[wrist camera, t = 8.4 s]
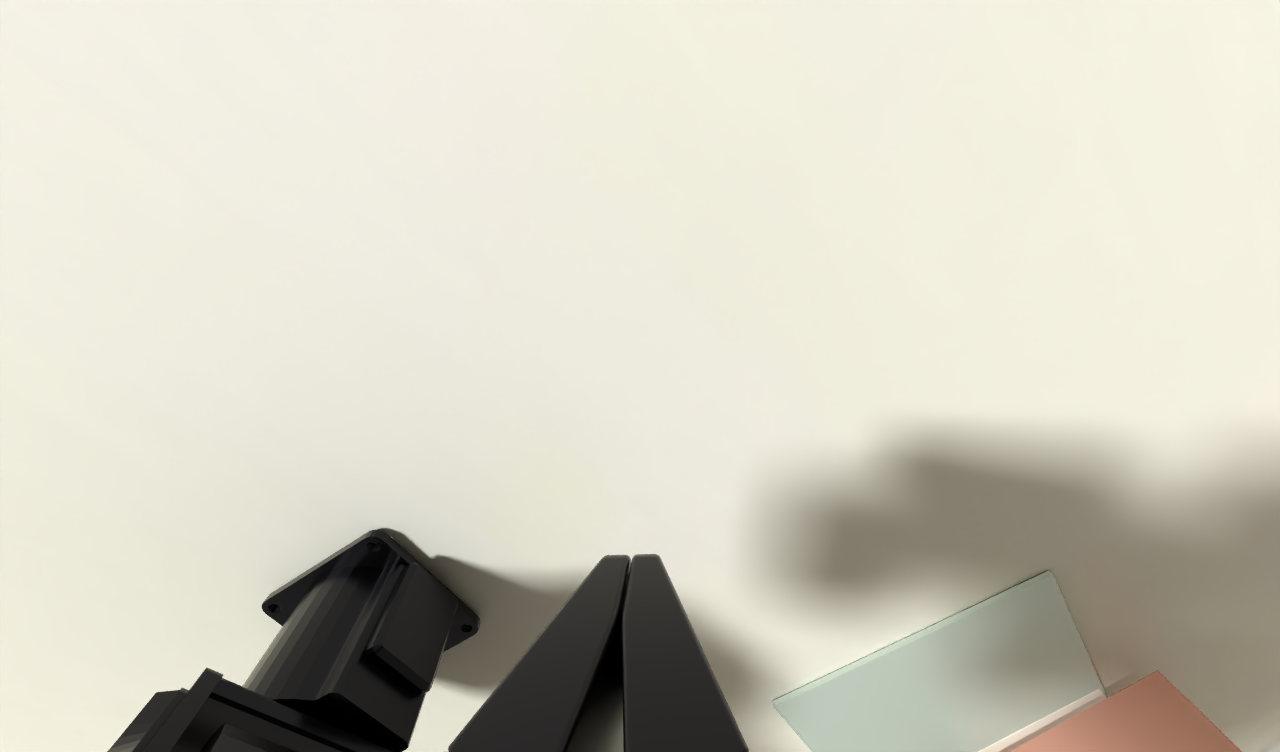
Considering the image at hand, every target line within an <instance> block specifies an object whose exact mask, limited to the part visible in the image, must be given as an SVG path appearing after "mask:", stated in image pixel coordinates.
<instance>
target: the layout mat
mask: <svg viewBox="0 0 1280 752" xmlns="http://www.w3.org/2000/svg"><path fill="white" fill-rule="evenodd" d="M1106 698H1107V695H1106V693H1105V691H1104V689H1103V686H1102V684H1101V682H1100V679H1099V677H1098V675H1097V673H1096V670H1095V668H1094V666H1093V663H1092V661H1091V659H1090V657H1089V654H1088V652H1087V650H1086V647H1085V645H1084V643H1083V641H1082V638H1081V636H1080V634H1079V631H1078V629H1077V627H1076V625H1075V622H1074V620H1073V618H1072V615H1071V613H1070V611H1069V609H1068V606H1067V604H1066V602H1065V600H1064V597H1063V595H1062V593H1061V590H1060V588H1059V586H1058V584H1057V581H1056V579H1055V577H1054V575H1053V574H1052V573H1051V572H1050V571H1049V570H1048V571H1046V572H1044V573H1042V574H1040V575H1038V576H1036V577H1034V578H1031V579H1029V580H1027V581H1025V582H1023V583H1021V584H1019V585H1017V586H1015V587H1012V588H1010V589H1008V590H1006V591H1004V592H1002V593H1000V594H998V595H995V596H993V597H991V598H989V599H987V600H985V601H983V602H981V603H979V604H976V605H974V606H972V607H970V608H968V609H966V610H964V611H962V612H959V613H957V614H955V615H953V616H951V617H949V618H947V619H945V620H943V621H940V622H938V623H936V624H934V625H932V626H930V627H928V628H926V629H923V630H921V631H919V632H917V633H915V634H913V635H911V636H909V637H907V638H904V639H902V640H900V641H898V642H896V643H894V644H892V645H890V646H887V647H885V648H883V649H881V650H879V651H877V652H875V653H873V654H871V655H868V656H866V657H864V658H862V659H860V660H858V661H856V662H854V663H851V664H849V665H847V666H845V667H843V668H841V669H839V670H837V671H835V672H832V673H830V674H828V675H826V676H824V677H822V678H820V679H818V680H815V681H813V682H811V683H809V684H807V685H805V686H803V687H801V688H799V689H796V690H794V691H792V692H790V693H788V694H786V695H784V696H782V697H779V698H777V699H775V700H773V701H772V703H773V707H774V708H775V709H776V710H777V711H778V713H779V714H780V715H781V716H782V717H783V718H784V719H785V721H786V722H787V723H788V724H789V725H790V726H791V728H792V729H793V730H794V731H795V732H796V733H797V735H798V736H799V737H800V738H801V739H802V740H803V742H804V743H805V744H806V745H807V746H808V747H809V748H810V750H811V751H812V752H1009V751H1011V750H1013V749H1015V748H1017V747H1018V746H1020V745H1022V744H1024V743H1026V742H1028V741H1029V740H1031V739H1033V738H1035V737H1037V736H1039V735H1040V734H1042V733H1044V732H1046V731H1048V730H1050V729H1051V728H1053V727H1055V726H1057V725H1059V724H1061V723H1062V722H1064V721H1066V720H1068V719H1070V718H1071V717H1073V716H1075V715H1077V714H1079V713H1081V712H1082V711H1084V710H1086V709H1088V708H1090V707H1092V706H1093V705H1095V704H1097V703H1099V702H1101V701H1103V700H1104V699H1106Z"/></svg>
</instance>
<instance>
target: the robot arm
mask: <svg viewBox="0 0 1280 752" xmlns="http://www.w3.org/2000/svg"><path fill="white" fill-rule="evenodd" d="M372 541H373V542H377V543H379V545H377V544H374V543H373V542H372ZM262 609H263V611H264V612H265V613H266V614H267V615H268V616H270V617H271V618H272V619H274V620H275V621H276V622H278V623H279V624H280V625H282V626H283V627H282V628H281V630H280V631H279V633H278V634H277V636H276V637H275V639H274V640H273V642H272V643H271V645H270V646H269V648H268V649H267V651H266V652H265V654H264V655H263V657H262V658H261V660H260V661H259V663H258V664H257V665H256V667H255V668H254V670H253V671H252V673H251V674H250V676H249V677H248V679H247V680H246V682H245V683H244V685H243V686H240V685H237V684H235V683H233V682H230V681H228V680H225V679H223V678H222V676H223V674H221V673H218V672H216V671H214V670H211V669H209V668H206V669H205V670H204V672H203V673H202V674H201V676H200V677H199V678H198V679H197V681H196V682H195V683H194V685H193V686H192V687H191V688H190V690H186V689H184V688H181V690H176V691H166V692H156V694H155V695H154V696H153V697H152V698H151V700H150V701H149V702H148V703H147V705H146V706H145V707H144V708H143V709H142V711H141V712H140V713H139V714H138V716H137V717H136V718H135V719H134V720H133V722H132V723H131V724H130V725H129V726H128V728H127V729H126V730H125V731H124V733H123V734H122V735H121V736H120V737H119V739H118V740H117V741H116V742H115V743H114V745H113V746H112V747H111V748H110V749H109V751H108V752H402V751H404V750H406V749H407V748H408V746H409V743H410V740H411V737H412V734H413V731H414V728H415V725H416V722H417V719H418V716H419V713H420V710H421V707H422V704H423V701H424V698H425V695H426V692H428V691H429V690H430V689H431V687H432V684H433V681H434V678H435V675H436V672H437V668H438V665H439V662H440V659H441V656H442V653H443V652H444V651H446V650H448V649H450V648H451V647H453V646H455V645H457V644H459V643H460V642H462V641H464V640H466V639H467V638H469V637H471V636H473V635H474V634H476V633H477V631H478V628H479V624H480V618H479V617H478V616H477V615H476V614H475V613H474V612H473V611H472V610H471V609H470V608H469V607H468V606H466V605H465V604H464V603H463V602H462V601H461V600H460V599H459V598H458V597H456V596H455V595H454V594H453V593H452V592H451V591H450V590H449V589H448V588H446V587H445V586H444V585H443V584H442V583H441V582H440V581H439V580H438V579H437V578H435V577H434V576H433V575H432V574H431V573H430V572H429V571H428V570H427V569H425V568H424V567H423V566H422V565H421V564H420V563H419V562H418V561H417V560H416V559H414V558H413V557H412V556H411V555H410V554H409V553H408V552H407V551H406V550H404V549H403V548H402V547H401V546H400V545H399V544H398V543H397V542H396V541H395V540H393V539H392V538H391V537H390V536H389V535H388V534H387V533H385V532H383V531H380V530H372V531H369V532H367V533H366V534H364V535H363V536H361V537H360V538H358V539H356V540H355V541H353V542H352V543H350V544H348V545H347V546H345V547H344V548H342V549H341V550H339V551H337V552H336V553H334V554H333V555H331V556H329V557H328V558H326V559H325V560H323V561H322V562H320V563H318V564H317V565H315V566H314V567H312V568H310V569H309V570H307V571H306V572H304V573H303V574H301V575H299V576H298V577H296V578H295V579H293V580H292V581H290V582H288V583H287V584H285V585H284V586H282V587H280V588H279V589H277V590H276V591H274V592H273V593H271V594H270V595H269V596H268V597H267V598H266V600H265V601H264V602H263V604H262ZM466 624H469V625H466ZM448 750H449V752H749V750H748V747H747V745H746V743H745V741H744V739H743V737H742V734H741V732H740V730H739V728H738V726H737V724H736V721H735V719H734V717H733V715H732V713H731V710H730V708H729V706H728V704H727V702H726V700H725V697H724V695H723V693H722V691H721V689H720V687H719V684H718V682H717V680H716V678H715V676H714V673H713V671H712V669H711V667H710V665H709V663H708V660H707V658H706V656H705V654H704V652H703V650H702V647H701V645H700V643H699V641H698V639H697V636H696V634H695V632H694V630H693V628H692V626H691V623H690V621H689V619H688V617H687V615H686V613H685V610H684V608H683V606H682V604H681V602H680V599H679V597H678V595H677V593H676V591H675V589H674V586H673V584H672V582H671V580H670V578H669V576H668V573H667V571H666V569H665V567H664V565H663V562H662V560H661V558H660V557H659V555H656V554H638V555H635V556H634V557H633V558H632V563H631V559H630V557H629V556H628V555H607V556H604V557H603V558H602V559H601V560H600V561H599V563H598V564H597V565H596V566H595V568H594V569H593V570H592V571H591V572H590V574H589V575H588V576H587V577H586V579H585V580H584V581H583V582H582V584H581V585H580V586H579V587H578V588H577V590H576V591H575V592H574V593H573V595H572V596H571V597H570V598H569V599H568V601H567V602H566V603H565V604H564V606H563V607H562V608H561V609H560V611H559V612H558V613H557V614H556V615H555V617H554V618H553V619H552V620H551V622H550V623H549V624H548V625H547V627H546V628H545V629H544V630H543V631H542V633H541V634H540V635H539V636H538V638H537V639H536V640H535V641H534V642H533V644H532V645H531V646H530V647H529V649H528V650H527V651H526V652H525V654H524V655H523V656H522V657H521V658H520V660H519V661H518V662H517V663H516V665H515V666H514V667H513V668H512V670H511V671H510V672H509V673H508V674H507V676H506V677H505V678H504V679H503V681H502V682H501V683H500V684H499V685H498V687H497V688H496V689H495V690H494V692H493V693H492V694H491V695H490V697H489V698H488V699H487V700H486V701H485V703H484V704H483V705H482V706H481V708H480V709H479V710H478V711H477V713H476V714H475V715H474V716H473V717H472V719H471V720H470V721H469V722H468V724H467V725H466V726H465V727H464V728H463V730H462V731H461V732H460V733H459V735H458V736H457V737H456V738H455V740H454V741H453V742H452V743H451V744H450V746H449V749H448Z"/></svg>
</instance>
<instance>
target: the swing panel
mask: <svg viewBox="0 0 1280 752" xmlns="http://www.w3.org/2000/svg"><path fill="white" fill-rule="evenodd" d="M1009 752H1242V751H1241V750H1240V749H1239V748H1238V747H1237V746H1236V745H1235V744H1233V743H1232V742H1231V741H1230V740H1229V739H1228V738H1227V737H1226V736H1225V735H1224V734H1223V733H1222V732H1221V731H1220V730H1219V729H1218V728H1217V727H1216V726H1215V725H1214V724H1213V723H1212V722H1211V721H1210V720H1209V719H1208V718H1206V717H1205V716H1204V715H1203V714H1202V713H1201V712H1200V711H1199V710H1198V709H1197V708H1196V707H1195V706H1194V705H1193V704H1192V703H1191V702H1190V701H1189V700H1188V699H1187V698H1186V697H1185V696H1184V695H1183V694H1182V693H1180V692H1179V691H1178V690H1177V689H1176V688H1175V687H1174V686H1173V685H1172V684H1171V683H1170V682H1169V681H1168V680H1167V679H1166V678H1165V677H1164V676H1163V675H1162V674H1161V673H1160V672H1159V671H1158V670H1157V671H1156V672H1154V673H1152V674H1150V675H1148V676H1146V677H1145V678H1143V679H1141V680H1139V681H1137V682H1135V683H1134V684H1132V685H1130V686H1128V687H1126V688H1125V689H1123V690H1121V691H1119V692H1117V693H1115V694H1114V695H1112V696H1110V697H1108V698H1106V699H1104V700H1103V701H1101V702H1099V703H1097V704H1095V705H1093V706H1092V707H1090V708H1088V709H1086V710H1084V711H1082V712H1081V713H1079V714H1077V715H1075V716H1073V717H1071V718H1070V719H1068V720H1066V721H1064V722H1062V723H1061V724H1059V725H1057V726H1055V727H1053V728H1051V729H1050V730H1048V731H1046V732H1044V733H1042V734H1040V735H1039V736H1037V737H1035V738H1033V739H1031V740H1029V741H1028V742H1026V743H1024V744H1022V745H1020V746H1018V747H1017V748H1015V749H1013V750H1011V751H1009Z"/></svg>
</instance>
